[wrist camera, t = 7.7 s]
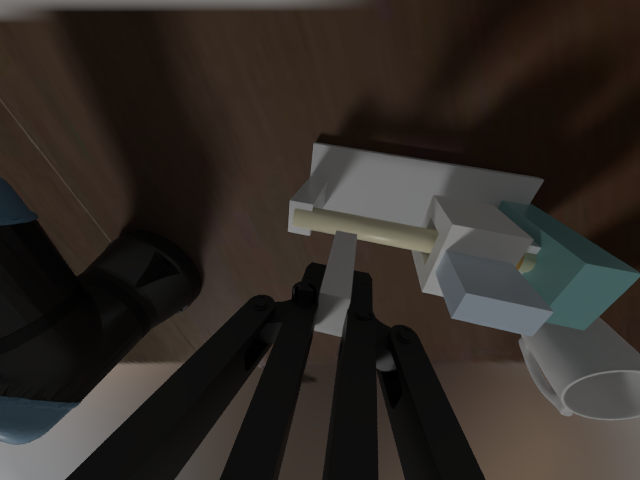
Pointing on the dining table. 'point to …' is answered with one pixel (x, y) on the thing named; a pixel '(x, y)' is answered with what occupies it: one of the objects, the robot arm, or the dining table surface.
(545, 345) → the mug
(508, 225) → the grey stepped block
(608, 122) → the dining table surface
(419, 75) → the dining table surface
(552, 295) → the grey vise fixture
